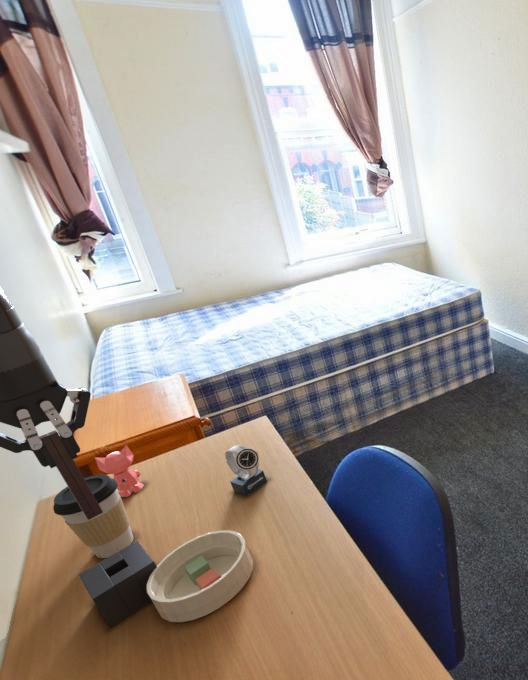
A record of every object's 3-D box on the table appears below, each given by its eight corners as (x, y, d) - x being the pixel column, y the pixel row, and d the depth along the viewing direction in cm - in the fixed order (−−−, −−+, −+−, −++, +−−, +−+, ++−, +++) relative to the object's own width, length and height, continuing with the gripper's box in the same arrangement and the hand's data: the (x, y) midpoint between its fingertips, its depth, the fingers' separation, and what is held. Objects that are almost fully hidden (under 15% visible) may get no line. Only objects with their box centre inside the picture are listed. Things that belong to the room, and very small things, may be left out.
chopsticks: (88, 520, 76) (40, 439, 70) (86, 517, 77) (38, 436, 70) (103, 512, 78) (57, 432, 71) (101, 509, 78) (55, 429, 72)
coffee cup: (134, 521, 103) (105, 466, 97) (151, 539, 97) (121, 482, 91) (78, 552, 96) (43, 495, 90) (93, 574, 90) (56, 514, 84)
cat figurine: (146, 478, 117) (126, 438, 112) (152, 489, 113) (131, 448, 108) (111, 493, 113) (89, 452, 108) (116, 506, 108) (93, 464, 103)
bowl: (178, 641, 76) (165, 619, 74) (146, 596, 84) (133, 574, 82) (269, 573, 87) (260, 552, 84) (232, 539, 95) (223, 519, 93)
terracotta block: (208, 599, 82) (201, 587, 81) (200, 591, 84) (194, 579, 82) (225, 586, 84) (220, 575, 83) (218, 579, 86) (212, 567, 85)
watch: (252, 498, 106) (236, 459, 102) (229, 490, 110) (213, 452, 106) (272, 482, 111) (258, 444, 107) (250, 475, 114) (236, 438, 110)
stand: (110, 628, 79) (92, 599, 76) (96, 602, 84) (78, 574, 81) (168, 589, 85) (153, 561, 83) (151, 567, 91) (137, 540, 88)
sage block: (196, 586, 85) (190, 574, 84) (189, 578, 86) (183, 566, 85) (213, 574, 87) (208, 562, 86) (206, 566, 89) (201, 555, 87)
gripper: (-64, 389, 59) (7, 496, 66) (74, 347, 69) (124, 444, 76) (-70, 376, 63) (-2, 478, 70) (61, 339, 73) (109, 431, 80)
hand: (63, 460), depth 73 cm, fingers closed on chopsticks
